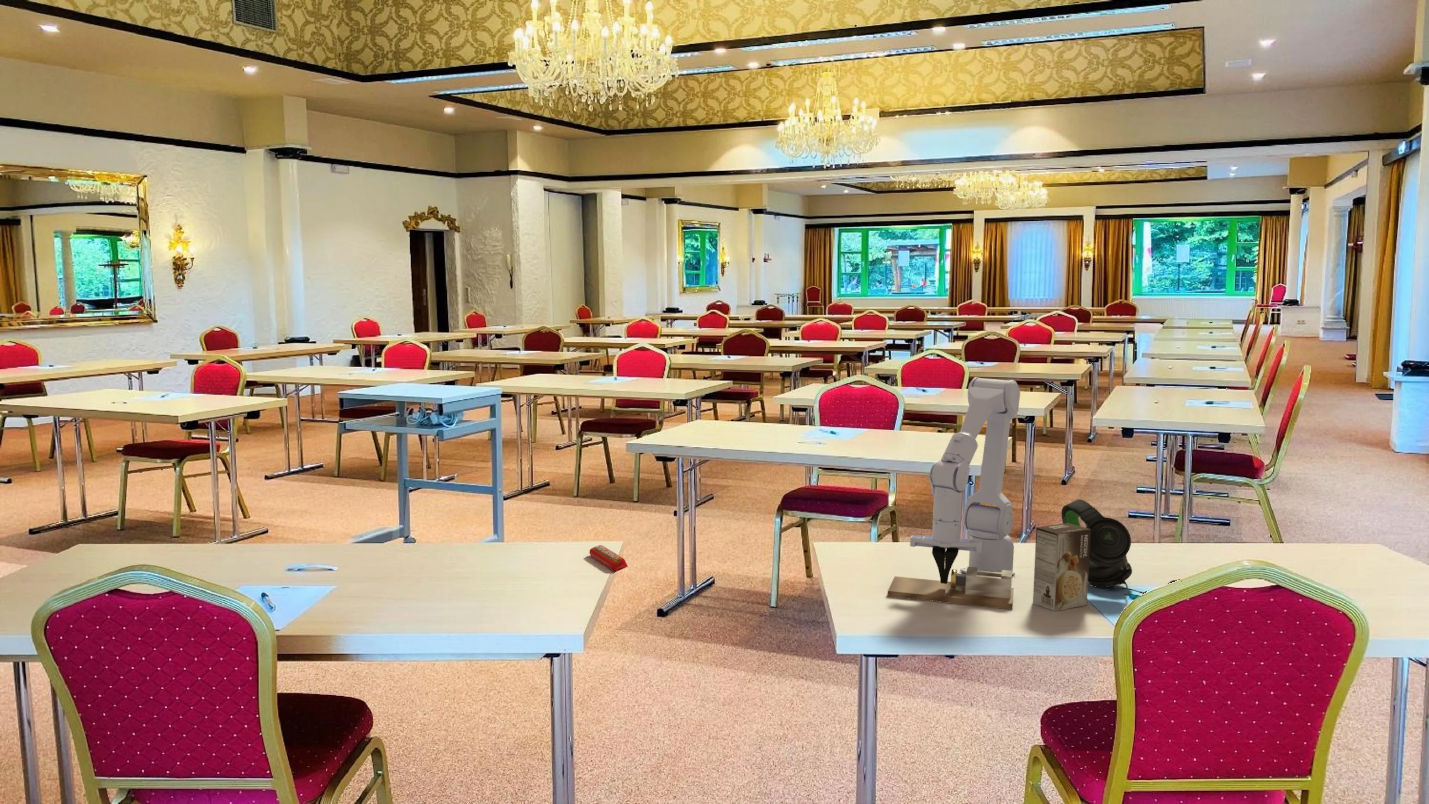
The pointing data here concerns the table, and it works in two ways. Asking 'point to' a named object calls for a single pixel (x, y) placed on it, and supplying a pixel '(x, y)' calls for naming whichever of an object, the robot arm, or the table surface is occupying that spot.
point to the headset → (1103, 545)
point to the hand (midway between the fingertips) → (944, 582)
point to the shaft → (957, 579)
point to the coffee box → (1061, 566)
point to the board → (960, 589)
